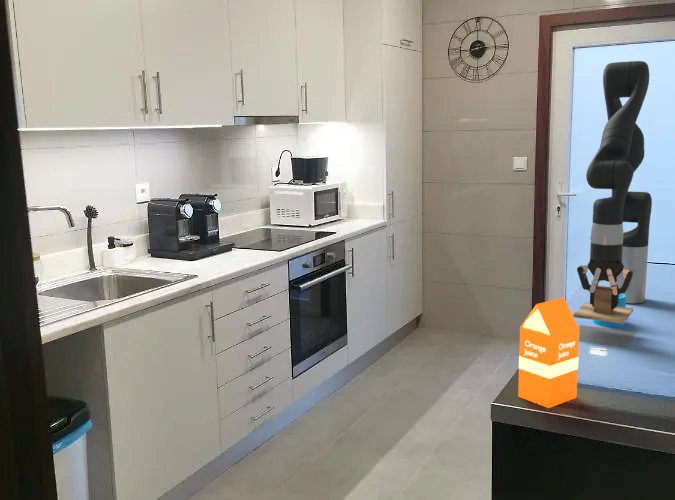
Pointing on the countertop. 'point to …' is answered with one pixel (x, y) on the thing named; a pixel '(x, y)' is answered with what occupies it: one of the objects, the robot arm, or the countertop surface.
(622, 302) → the mug
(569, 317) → the orange juice
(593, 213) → the robot arm
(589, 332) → the rubber mat
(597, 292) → the oak lid
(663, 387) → the countertop surface
